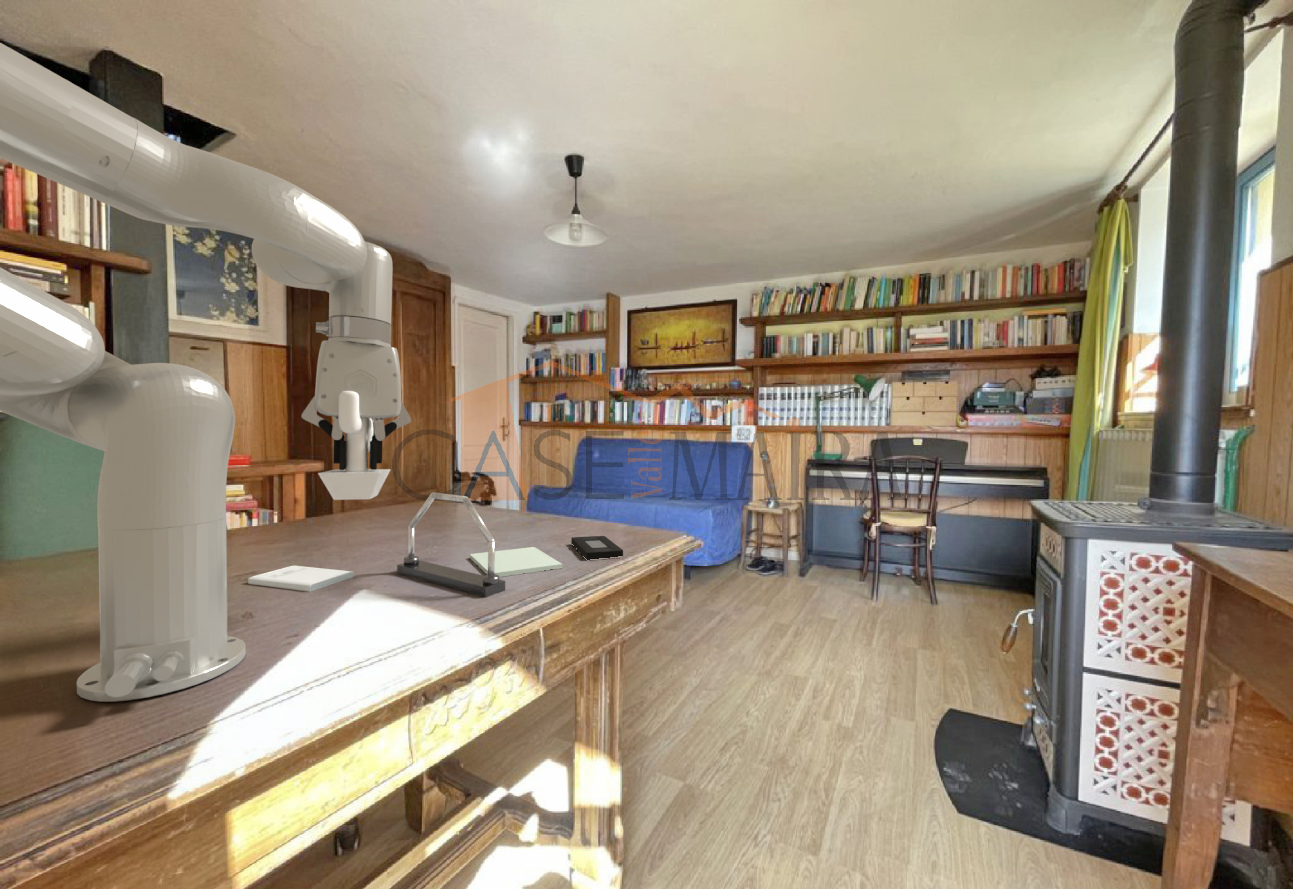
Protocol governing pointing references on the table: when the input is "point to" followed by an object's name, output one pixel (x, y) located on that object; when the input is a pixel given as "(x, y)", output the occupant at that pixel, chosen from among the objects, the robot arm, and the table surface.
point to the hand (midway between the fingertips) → (357, 467)
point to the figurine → (354, 455)
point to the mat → (516, 561)
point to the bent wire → (446, 574)
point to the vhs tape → (596, 547)
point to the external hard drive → (300, 578)
